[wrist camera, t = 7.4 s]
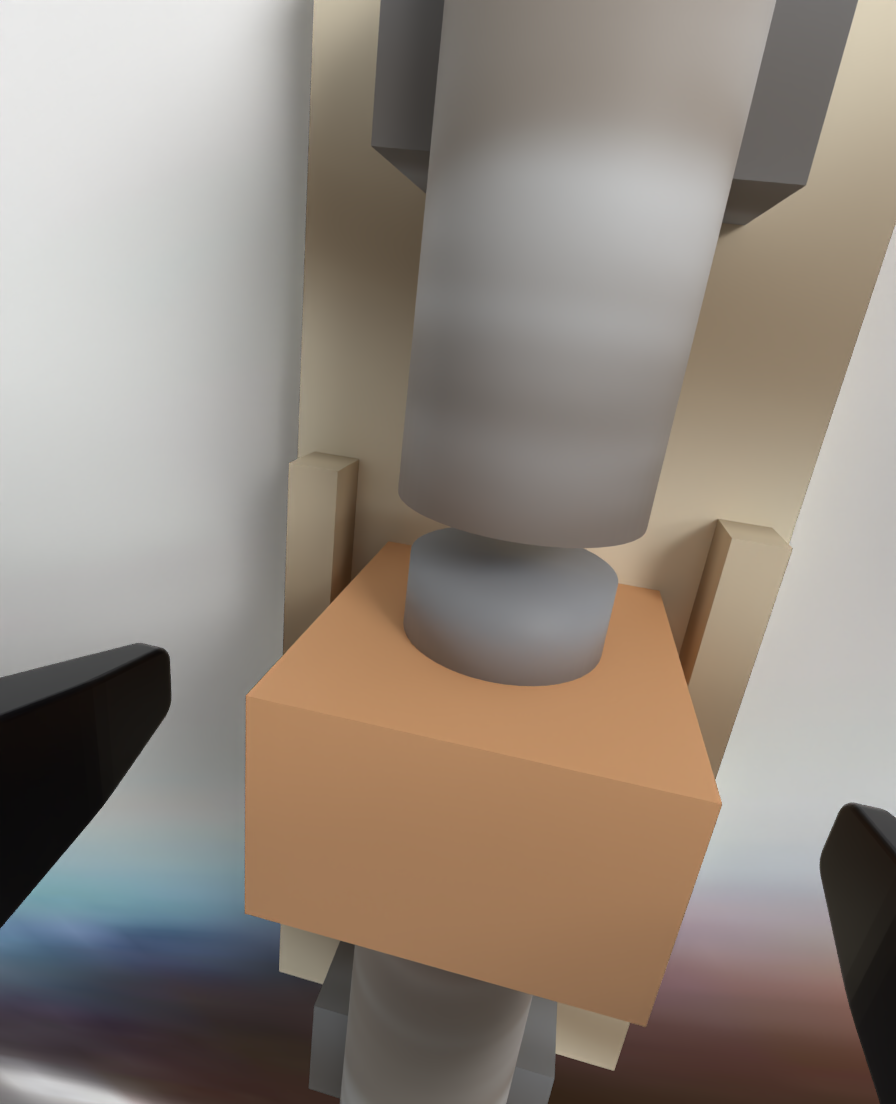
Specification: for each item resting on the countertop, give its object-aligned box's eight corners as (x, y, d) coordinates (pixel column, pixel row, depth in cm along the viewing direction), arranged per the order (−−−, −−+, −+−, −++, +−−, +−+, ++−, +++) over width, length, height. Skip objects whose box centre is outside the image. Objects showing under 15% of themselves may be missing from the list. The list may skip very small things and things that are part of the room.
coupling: (393, 485, 11) (245, 605, 6) (674, 532, 10) (753, 710, 5) (371, 732, 12) (244, 972, 8) (608, 786, 12) (625, 1085, 7)
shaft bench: (348, -48, 9) (97, -454, 4) (938, -22, 8) (1459, -536, 3) (299, 927, 16) (181, 1177, 12) (611, 1016, 15) (625, 1335, 10)
